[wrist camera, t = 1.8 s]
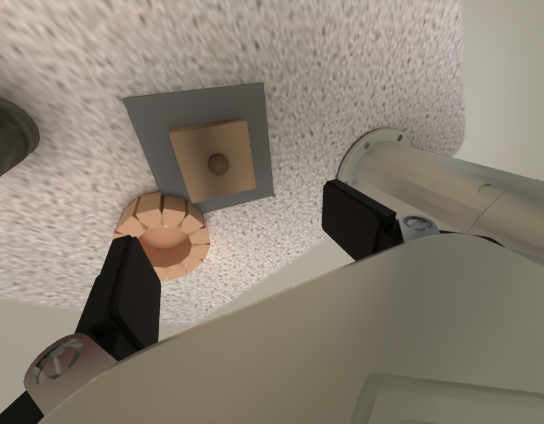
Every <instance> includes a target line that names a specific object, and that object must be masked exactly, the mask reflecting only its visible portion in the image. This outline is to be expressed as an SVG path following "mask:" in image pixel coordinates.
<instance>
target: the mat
mask: <svg viewBox="0 0 544 424" xmlns="http://www.w3.org/2000/svg"><path fill="white" fill-rule="evenodd" d="M123 102H124V104H125V107H126V109H127V112H128V114H129V116H130V119H131V121H132V124H133V126H134V129H135V131H136V134H137V136H138V139H139V141H140V144H141V146H142V148H143V151H144V153H145V156H146V158H147V161H148V163H149V166H150V168H151V171H152V173H153V176H154V178H155V180H156V183H157V185H158V188H159V190H160V193H161V195H162V198H163V200H164V197H165V195H168V196H172V197H177V198H182V199H185V203H186V202H187V201H189V202H190V203H191V200H190V197H189V194H188V191H187V188H186V185H185V182H184V179H183V176H182V173H181V170H180V167H179V164H178V161H177V158H176V154H175V151H174V148H173V145H172V142H171V139H170V136H169V129H170V128H176V127H183V126H189V125H196V124H202V123H209V122H215V121H222V120H229V119H235V118H242V119H244V120H246V121H247V126H248V133H249V140H250V147H251V154H252V161H253V169H254V176H255V183H256V188H254V189H250V190H246V191H242V192H238V193H233V194H229V195H225V196H221V197H217V198H213V199H209V200H205V201H201V202H197V203H193V205H194V206H195V207H196V208H198V209H199V210H200V211H201V214H203V213H207V212H211V211H215V210H219V209H222V208H226V207H230V206H234V205H238V204H242V203H246V202H249V201H253V200H257V199H261V198H265V197H269V196H273V195H274V191H273V180H272V170H271V159H270V148H269V138H268V127H267V117H266V106H265V95H264V85H263V83H254V84H245V85H236V86H227V87H219V88H210V89H201V90H192V91H183V92H174V93H165V94H156V95H147V96H138V97H130V98H123ZM191 204H192V203H191Z"/></svg>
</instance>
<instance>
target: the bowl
mask: <svg viewBox="0 0 544 424" xmlns="http://www.w3.org/2000/svg"><path fill="white" fill-rule="evenodd" d="M126 235H131V236H132V237H135V236H136V237H137V238H138V240H139V242H140V244H141V245H142V247H143V249H144V251H145V253H146V255H147V257H148V258H149V260H150V262H151V264H152V266H153V268H154V270H155V271H156V273H157V275H158V277H159V279H160V281H165V280H166V276H167V277H168V279H169V280H171V279H174V278H177V277H181V276H184V275H187V271H189V272H190V273H191V272H192V271H193V270H194V269H195V268H196V267H198V266H199V265H200V264H201V263H202V262H203V259H205V258H206V255H207V252H208V250H209V247H210V239H209V234H208V230H207V225H206V221H205V218H204V215H203V214H201V211H200V210H199V209H198V208H196V207H195V206H194V205H193V204H191V203H190V202H189V201H187V202H186V203H185V199H182V198H177V197H172V196H168V195H165V197H164V200H163V198H162V195H161V193H160V191H159V192H155V193H150V194H146V195H142V196H141V199H140V198H139V197H138V198H137V199H136V200H134V201H133V202H132V203H131V204H130V205H129V206H128V207H126V208H125V209H124V212H123V213H122V215H121V218H120V220H119V222H118V225H117V227H116V229H115V232H114V235H113V239H115V238H118V237H122V236H126Z"/></svg>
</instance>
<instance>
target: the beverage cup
mask: <svg viewBox="0 0 544 424" xmlns="http://www.w3.org/2000/svg"><path fill="white" fill-rule="evenodd" d="M39 139H40V138H39V132H38V128H37V127H36V125H35V123H34V121H33V120H32V119H31V118H30V117H29V116H28V115H27V114H26V112H25V111H23V110H22V109H21V108H19V107H18V106H16V105H15V104H13V103H12V102H9V101H7V100H4V99H2V98H0V176H2V175H3V174H5V173H6V172H7V171H9V170H10V169H11V168H13V167H14V166H16V165H17V164H18V163H20V162H21V161H23V160H24V159H25V158H26V157H27V156H28V155H29V154H30V153H32V152H33V151H34V150H35V148H36V147H37V146H38V143H39Z"/></svg>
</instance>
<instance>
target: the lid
mask: <svg viewBox="0 0 544 424" xmlns="http://www.w3.org/2000/svg"><path fill="white" fill-rule="evenodd" d="M169 136H170V139H171V142H172V145H173V148H174V151H175V154H176V158H177V161H178V164H179V167H180V170H181V173H182V176H183V179H184V182H185V185H186V188H187V191H188V194H189V197H190V200H191V203H192V204H193V203H197V202H201V201H205V200H209V199H213V198H217V197H221V196H225V195H229V194H233V193H238V192H242V191H246V190H250V189H254V188H256V183H255V176H254V169H253V161H252V154H251V147H250V140H249V133H248V126H247V121H246V120H244V119H242V118H235V119H229V120H222V121H215V122H209V123H202V124H196V125H189V126H183V127H176V128H170V129H169Z"/></svg>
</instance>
